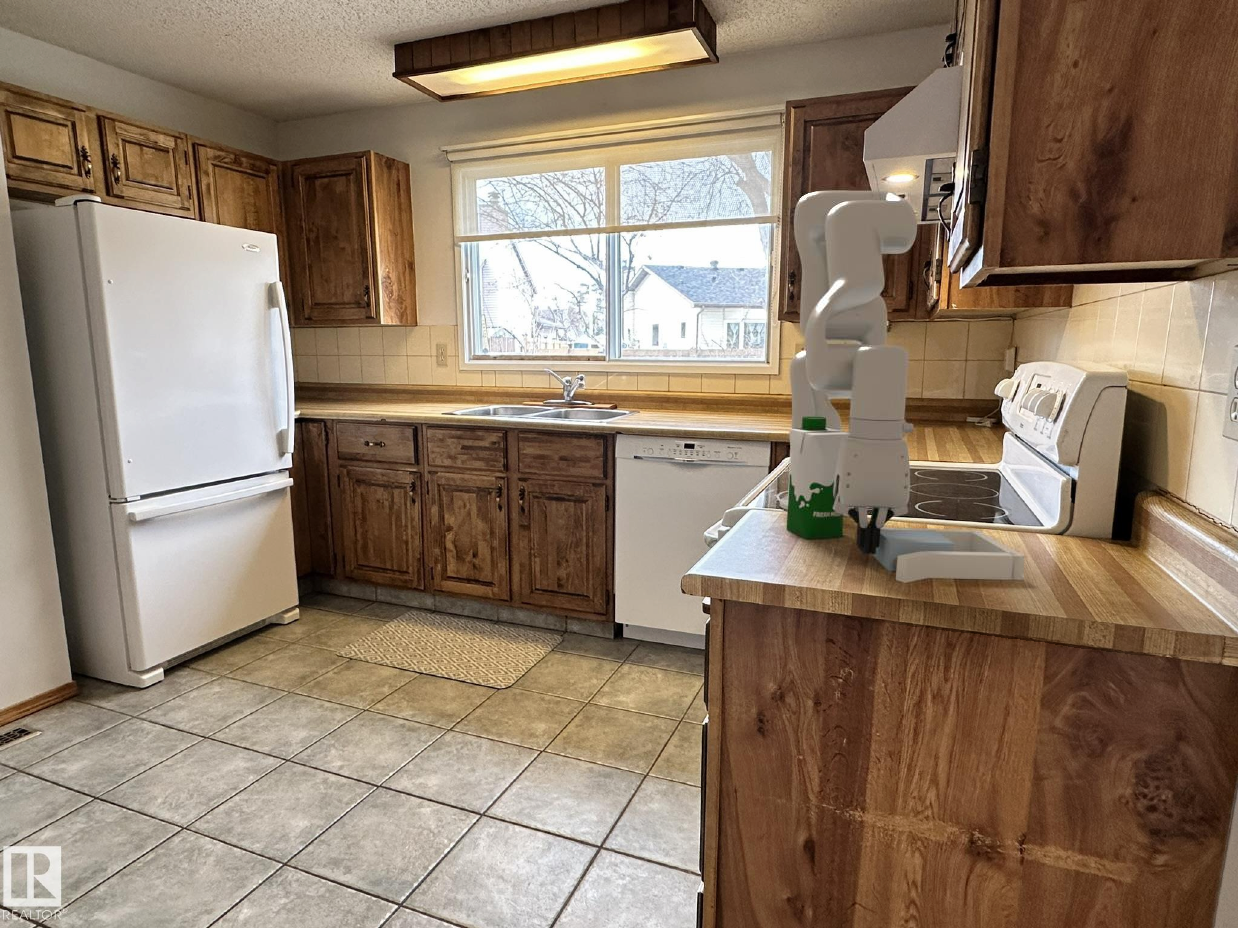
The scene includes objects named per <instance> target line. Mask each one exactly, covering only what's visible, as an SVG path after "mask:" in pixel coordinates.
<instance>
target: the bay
mask: <svg viewBox="0 0 1238 928" xmlns="http://www.w3.org/2000/svg"><path fill="white" fill-rule="evenodd" d="M881 529H891V530H935V531H936V532H938V533H939V534H941V535H942V536H944V537H945V538H947V539H948V540H950V541H951V542H953V543H954V550H953V552H948V551H924V552H923V551H920V552H915V553H910V554H905V555H899V556H898V558H897V570H896V571H895V572H896V573H895V580H896V581H898V582H901V583H903V584H906V583H907V584H908V583H910V582H911V583H912V582H915V581H916V582H917V581H921V580H925V579H951V580H953V579H959V580H960V579H962V580H998V581H999V580H1002V581H1003V580H1004V581H1005V580H1006V581H1011V580H1012V581H1023V575H1024V574H1023V572H1024V566H1025V565H1024V563H1025V555H1023V554H1021V553H1020V552H1018V551H1016V550H1014V549H1013V548H1011V547H1009V546H1007V545H1006V544H1004V543H1002V542H1000V541H998V540H996V539H995V538H993V537H992V536H989V535H988V534H986V533H984V532H982V531H980V530H979V529H961V528H960V529H959V528H957V529H950V528H945V529H944V528H909V527H908V528H905V527H903V528H902V527H901V528H900V527H899V528H898V527H888V526H884V527H883V528H881Z"/></svg>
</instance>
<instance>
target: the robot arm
mask: <svg viewBox="0 0 1238 928" xmlns="http://www.w3.org/2000/svg"><path fill="white" fill-rule="evenodd" d="M793 231H794V239H795V243H796V247H797V252H798V254H799V259H800V263H801V272H802V273H801V288H800V289H801V290H800V309H799V310H800V311H799V327H800V332H801V335H802V336H803V337H804V350H802V351H800V352H798V353H796V354H795V355H794V356H793V358H792V359H791V361H790V364H789V382H790V391H791V392H790V393H791V407H792V408H791V428H790V429H796V428H802V418H803V417H824V418H826V428H829V429H834V430H841V431H842V429H843V426H842V420H841V417H840V415H839V413H838V411H837V410H836V409H835V407H834V406H833V404H832V403H831V402H830V400H835V399H847V400H848V399H850V406H849V407H850V408H849V422H848V423H849V424H848V433H849V434H848V435H849V436H848V438H843V439H842V442H841V445H840V449H839V454H838V459H837V465H836V471H835V478H834V487H833V495H834V498H835V502H834V505H833V510H834V511H835V512H836V513H840V514H843V516H847V517H850V518H851V519H852V520H853V521H854V522H855V523H856V537H855V538H856V540H855V541H856V542H855V543H856V547H857V548H858V550H860V551H861V552H862V554H864V555H869V554H870V555H874V554H876V547H879V543H880V530H881V528H883V527H885V524H886V523H888V522H889V521H890V520H891V519H892V518H893V517H900V516H903V515H907V514H908V513H909V508H908V503H909V499H910V493H911V492H910V490H911V470H910V467H911V466H910V465H911V464H910V457H909V456H910V454H909V447H908V441H906V440H904V438H905V435H906V434H909V433H913V432H914V427H915V426H914V424H913V423H908V422H906V419H905V413H906V412H905V411H906V397H907V388H908V375H909V364H910V363H909V362H910V355H909V352H908V350H907V349H906V348H905V347H903V346H899V345H889V344H887V332H888V331H887V330H888V309H887V305H886V302H885V300H884V297H882V296H881V293H882V291H883V290H884V288H885V274H884V266H883V257H882V256H883V254H884V255H889V254H890V255H891V254H892V255H893V254H895V255H896V254H898V255H899V254H904V253H906V252H908V251H909V250H911V247H913V245H914V242H915V240H916V238H917V234H918V233H917V231H918V221H917V215H916V212H915V210H914V207H913V206H912V204H911V203H910V202H909V201H908V200H907V199H905V198H903V197H901V196H899V195H898V194H896V193H894V192H891V191H886V190H843V189H842V190H835V189H834V190H820V191H819V190H818V191H814V192H810V193H807V194H805V195H803V196H802V197H801V198H800V199H799V200H798V201H797V203H796V205H795V210H794V214H793ZM829 342H831V343H829ZM833 342H834V343H833ZM835 342H837V343H835ZM838 342H840V343H838ZM843 342H844V343H843ZM789 448H790V447H789ZM790 460H791V448H790V450H789V461H790ZM789 478H790V466H789V471H788V479H789ZM788 497H789V485H788V489H787V496H785V497H782V498H781V499H779V507H781V508H782V509H783V510H786V511H788ZM870 508H871V509H872V511H871V516H870V520H869V519H868V509H870Z"/></svg>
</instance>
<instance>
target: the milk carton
mask: <svg viewBox="0 0 1238 928" xmlns="http://www.w3.org/2000/svg"><path fill="white" fill-rule="evenodd" d="M848 434H849V432H846V431H844V430H842V429H841V430H834V429H829V428H826V418H824V417H803V418H802V428H796V429H791V428H789V445H790V447H789V448H791V460H790V459H789V467H790V478H789V477H788V486H789V497H788V496H787V497H788V510H787V513H786V515H787V516H786V528H785V529H786V530H788V531H790V532H791V533H793V534H796V535H798V536H800V537H802V538H803V539H806V540H816V539H817V540H818V539H830V538H843V537H844V515H843V514H840V513H836V512H835V511H834V510H833V505H834V502H835V498H834V495H833V487H834V478H835V471H836V465H837V459H838V454H839V449H840V445H841V442H842V439H843V438H848V436H849V435H848Z"/></svg>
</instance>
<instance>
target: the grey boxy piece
mask: <svg viewBox="0 0 1238 928" xmlns="http://www.w3.org/2000/svg"><path fill="white" fill-rule="evenodd" d="M953 550H954V543H953V542H951V541H950V540H948V539H947V538H945V537H944V536H942V535H941V534H939V533H938V532H936V531H935V530H891V529H881V530H880V543H879V547H876V554H873V557H874V559H876V560H877V562H879V563H880V564H881V566H883V567H884V568H885V569H886V570H887V571H888V572H896V570H897V558H898V556H899V555H905V554H910V553H915V552H920V551H923V552H924V551H948V552H953Z"/></svg>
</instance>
